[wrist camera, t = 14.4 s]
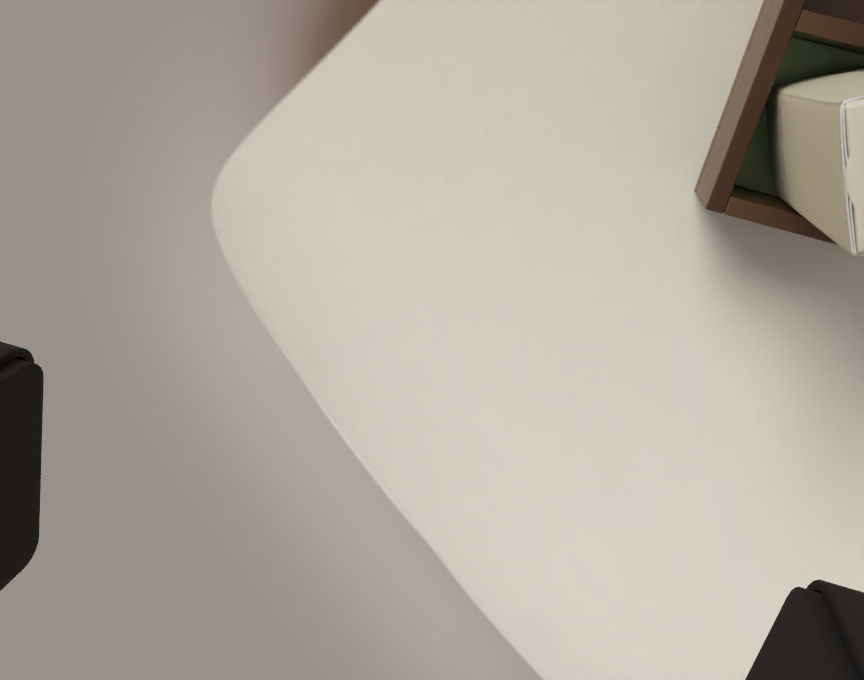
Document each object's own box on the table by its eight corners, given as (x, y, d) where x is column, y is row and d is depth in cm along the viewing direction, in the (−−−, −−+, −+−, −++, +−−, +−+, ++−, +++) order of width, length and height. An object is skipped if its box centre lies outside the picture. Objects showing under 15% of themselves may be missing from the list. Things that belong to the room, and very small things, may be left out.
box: (874, 176, 36) (1008, 242, 24) (771, 196, 37) (851, 268, 25) (866, 56, 34) (1004, 64, 23) (758, 81, 36) (837, 100, 24)
